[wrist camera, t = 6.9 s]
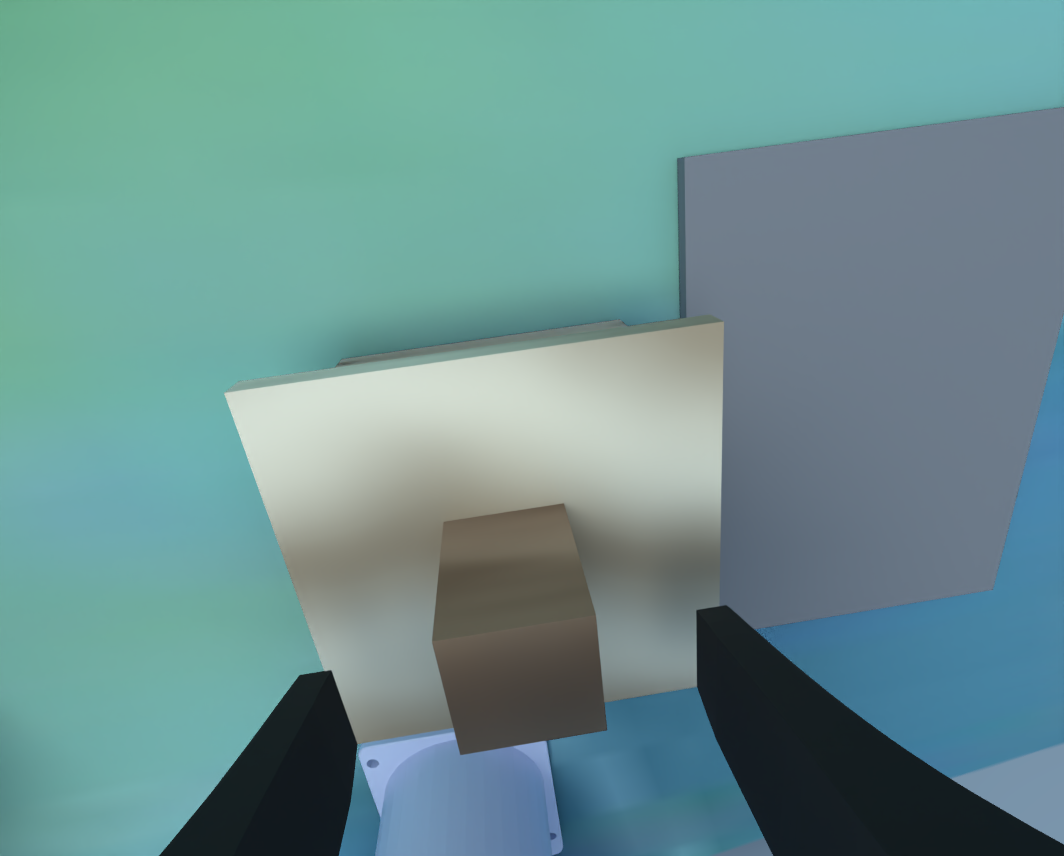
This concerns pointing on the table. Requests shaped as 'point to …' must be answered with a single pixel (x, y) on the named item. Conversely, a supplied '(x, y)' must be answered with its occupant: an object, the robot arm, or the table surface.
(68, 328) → the table surface
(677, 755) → the table surface
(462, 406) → the lid
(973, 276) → the mat
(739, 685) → the robot arm
